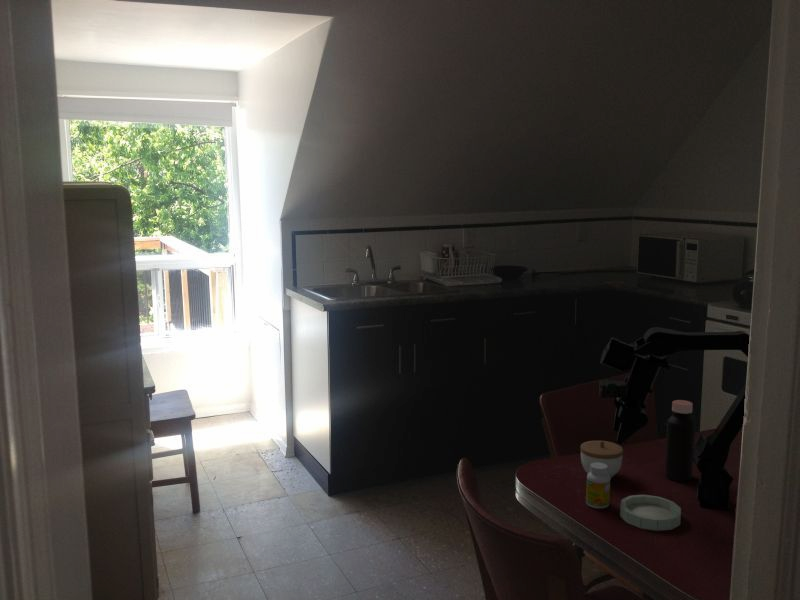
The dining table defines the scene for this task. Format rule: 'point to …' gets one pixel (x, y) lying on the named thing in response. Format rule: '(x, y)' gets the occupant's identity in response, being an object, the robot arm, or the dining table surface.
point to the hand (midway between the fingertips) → (616, 436)
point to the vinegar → (680, 442)
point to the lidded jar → (602, 455)
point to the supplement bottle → (598, 486)
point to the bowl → (650, 512)
